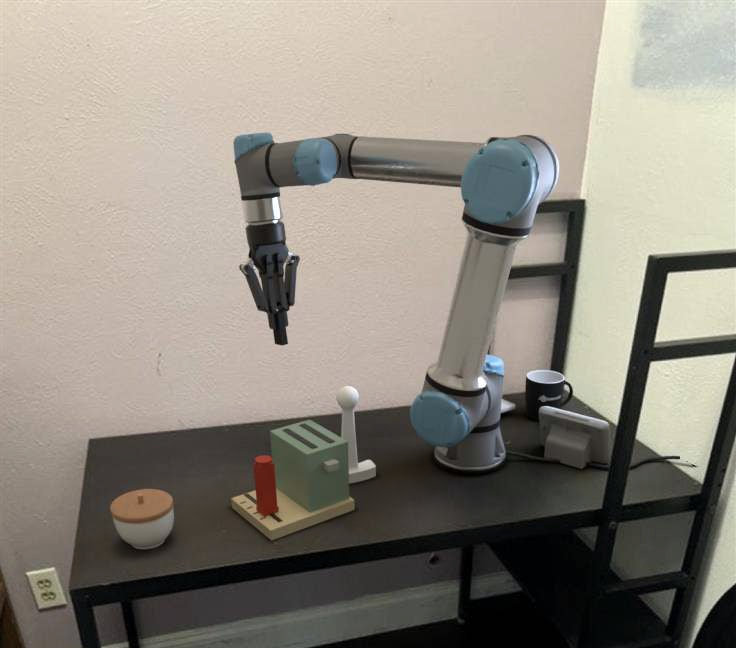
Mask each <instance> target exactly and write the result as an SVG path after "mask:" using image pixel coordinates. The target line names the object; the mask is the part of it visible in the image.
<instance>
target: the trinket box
mask: <svg viewBox="0 0 736 648" xmlns="http://www.w3.org/2000/svg"><path fill="white" fill-rule="evenodd" d="M109 511H110V514H111V516H112V521H113V524H114V525H113V526H114V527H115V530H116V532H117V534H118V535H119V537H120V538H121V539H122V540H123V541H124V542H125V543H127V544H129V545H130V546H131V547H133V548H134V549H138V550H150V549H155V548H158V547H160V546H161V545H163V544H164V543H165V541H166V539H167V538H168V537H169V535H170V534H171V532H172V530H173V527H174V522H175V510H174V498H173V496H172V495H171V494H170V493H168V492H166V491H164V490H162V489H161V490H160V489H155V488H142V489H135V490H132V491H129V492H128V491H127V492H125V493H123V494H121V495H120V496H117V497H116V498H115V499H114V500H113V501H112V502H111V503H110V506H109Z"/></svg>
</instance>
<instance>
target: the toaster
mask: <svg viewBox="0 0 736 648" xmlns="http://www.w3.org/2000/svg"><path fill="white" fill-rule="evenodd" d="M269 436H270V437H269V438H270V449H271V451H270V452H271V458H272V462H273V463H274V468H275V481H276V494H277V506H278V507H279V511H278V512H275V513H272V514H269V515H267V516H263V515H262V514H260V513H259V512H258V511H257V510H256V506H257V499H256V489H254V490H252V491H249V492H246V493H243V494H240V495H237V496H234V497H231V498H230V500H231V509H233V510H234V511H235V512H236V513H237V514H239V515H240V516H241V517H242V518H243V519H244V520H246V521H247V522H248V523H249V524H251V525H252V526H253V527H254V528H256V529H257V530H258V531H259V532H260V533H261V534H263V535H264V536H265V537H266V538H268V540H270V541H275V540H277V539H280V538H283V537H285V536H288V535H290V534H293V533H296V532H299V531H301V530H305V529H306V528H309V527H312V526H314V525H318V524H321V523H323V522H325V521H329V520H331V519H334V518H336V517H339V516H341V515H342V516H343V515H344V514H347V513H349V512H352V511H355V509H356V507H355V505H356V504H355V499H354V498H352V497H351V496H350V483H349V464H348V441H346V440H344V439H343V438H341V436H339V435H337V434H336V433H334V432H332V431H330V430H329V429H327V428H325V427H324V426H322V425H320V424H318V423H317V422H315V421H313V420H311V419H307V420H302V421H300V422H297V423H293V424H289V425H285V426H282V427H279V428H276V429H275V428H274V429H272V430H269Z"/></svg>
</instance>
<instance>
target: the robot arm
mask: <svg viewBox="0 0 736 648" xmlns="http://www.w3.org/2000/svg"><path fill="white" fill-rule="evenodd" d="M232 144H233V153H234V162H233V163H234V164H235V170H236V175H237V180H238V186H239V191H240V199H241V208H242V214H243V221H244V222H245V224H247V225H246V226H245V227H244V228H245V229H244V230H245V234H246V241H247V245H248V247H249V251H248V258H247V260H246V261H245V262H244V263H241V264H239V266H238V269H239V270H240V272H241V273H242V274H243V276H245V279H246V282H247V284H248V285H247V286H248V287H249V291H250V293H251V296H252V298H253V300H254V301H253V302H254V304H255V307H256V309H257V310H258V311H259V312H264V313H266V314H267V315H266V316H267V321H268V327H269V329H270V330H272V333H273V340H274V345H278V346H286V345H289V341H288V333H287V327H289V318H288V312H289V311H290V308H291V307H293V306H295V303H296V287H297V285H296V284H297V270H298V266H299V263H300V260H301V257H300V255H295V254H294V253H291V252H290V251H289V247H288V246H287V244H286V240H287V235H286V228H285V227H286V226H285V223H284V221H282V219H283V218H284V211H283V203H282V197H281V189H280V188H285V187H286V188H287V187H301V186H303V187H304V186H310V187H315V186H318V185H322V184H328V183H330V182H331V181H332V180H335V179H348V180H366V181H379V182H391V183H403V184H415V185H424V186H425V185H426V186H436V187H437V186H439V187H449V188H450V187H451V188H460V194H461V199H462V201H463V203H464V207H463V212H462V215H461V223H462V224H463V227H464V228H465V230H466V233H467V234H466V237H465V242H464V246H463V250H462V255H461V260H460V264H459V268H458V272H457V276H456V279H455V285H454V289H453V293H452V297H451V301H450V306H449V310H448V314H447V317H446V323H445V326H444V332H443V335H442V340H441V344H440V348H439V352H438V356H437V359H436V360H435V361H433V362H431V363H430V364H429V365H428V366H427V368H426V372H425V375H424V376H425V377H424V381H423V385H422V390H421V391H420V393H419V394H418V395H417V396H416V397H415V398H414V400H413V401H412V403H411V406H410V409H409V420H410V423H411V426H412V427H413V429H414V430H415V431H416V434H417V435H418V436H419V437H420V438H421V439H422V440H423V441H424V442H426V443H428V444H430V445H432V446H434V452H433V453H434V454H433V456H434V457H433V458H434V462H435V463H436V464H437V465H438V466H439V467H441V468H442V469H444V470H447V471H450V472H452V473H457V474H461V475H462V474H463V475H484V474H489V473H493V472H495V471H498V470H500V469H502V467H503V466H505V464H506V456H507V455H509V456H515V457H519V458H525V459H528V460H531V461H539V462H546V463H559V464H561V463H560V462H561V461H560V460H558V459H550V458H544V457H541V456H540V457H539V456H535V455H530V454H527V453H526V454H525V453H521V452H516V451H510V450H506V447H505V444H504V440H503V436H502V435H503V434H502V432H501V427H500V423H501V414H502V413H501V402H502V399H503V389H504V378H505V375H506V374H505V363H504V361H503V359H501V358H500V357H498V356H495V355H492V354H488V353H489V349H490V345H491V341H492V338H493V334H494V331H495V327H496V323H497V319H498V316H499V312H500V308H501V306H502V303H503V297H504V294H505V291H506V287H507V283H508V281H509V280H508V279H509V275H510V271H511V268H512V265H513V261H514V258H515V254H516V251H517V246H518V244H519V243H520V242H523V240H525V239H527V238H528V237H529V236H530V234H531V230H532V226H533V223H534V221H535V220H534V219H535V217H536V213H537V210H538V206H539V205H541V204H542V203H544V202H545V201H546V199H548V198H549V197H550V196H551V194H552V193H553V192H554V190H555V188H556V186H557V183H558V180H559V176H560V162H559V159H558V156H557V153H556V151H555V150H554V148H553V146H552V145H551V144H550V143H549V142H548V141H547V140H545V139H544V138H542V137H539V136H537V135H532V134H520V135H516V136H509V137H507V136H506V137H503V136H502V137H498V136H490V137H488V138H487V140H485V141H484V142H472V141H452V140H435V139H415V138H399V137H397V138H396V137H380V136H379V137H378V136H362V135H361V136H356V135H353V134H350V133H334V134H332V135H327V136H321V137H311V138H306V139H305V138H304V139H299V140H291V141H285V142H275V141H274V136H273V134H272V133H270V132H256V133H255V132H254V133H248V134H247V133H245V134H240V135H239V134H238V135H236V136H235V137H234V139H233V143H232ZM256 269H257V271H258V274H257V273H256V272H255V271H256ZM258 276H259V278H260V280H259V278H258ZM680 456H681V455H662V456H650V457H644V458H642V459H639V460H637V461H635V462H633V463H630V464H631V466H630V468H629V469H632V468H635V467H637V466H639V465H641V464H643V463H646V462H652V461H664V460H665V461H666V460H679V459H680ZM686 462H687V463H689V462H688V461H686ZM689 464H690V465H692V467H695V468H697V467H696V466H695V465H693V464H691V463H689ZM586 466H587V467H594V468H598V469H603V470H604V469H605V470H610V469H609V466H610V465H607V464H601V463H597V462H586Z"/></svg>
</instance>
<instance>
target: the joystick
mask: <svg viewBox="0 0 736 648" xmlns="http://www.w3.org/2000/svg"><path fill="white" fill-rule="evenodd" d="M335 400H336V402H337V404H338V406H340V408H341V428H340V429H341V433H340V437H341V438H343V439H344V440H346V441H348V464H349V484H355V483H359V482H364V481H367V480H370V479H373V478H375V477H376V476H377V465H376V464H375V463H374V462H373V461H372V459H366V460H363V461H361V462H359V461H358V460H359V458H358V449H357V448H358V446H357V435H356V422H355V407H356V406H357V405H358V403H359V400H360V393H359V392H358V390H357V389H356V388H355V387H353V386H352V385H351V386H350V385H345V386H342V387H340V388H339V390H337V392H336V397H335Z"/></svg>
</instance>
